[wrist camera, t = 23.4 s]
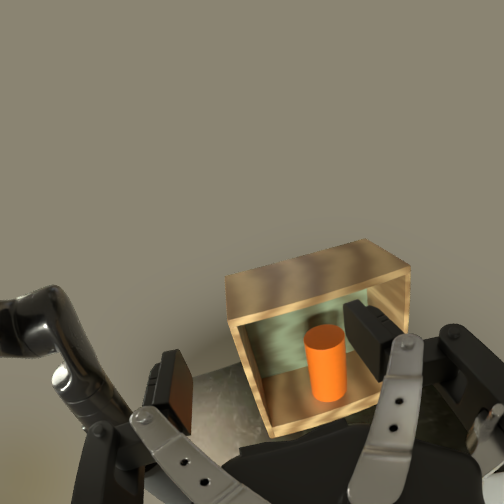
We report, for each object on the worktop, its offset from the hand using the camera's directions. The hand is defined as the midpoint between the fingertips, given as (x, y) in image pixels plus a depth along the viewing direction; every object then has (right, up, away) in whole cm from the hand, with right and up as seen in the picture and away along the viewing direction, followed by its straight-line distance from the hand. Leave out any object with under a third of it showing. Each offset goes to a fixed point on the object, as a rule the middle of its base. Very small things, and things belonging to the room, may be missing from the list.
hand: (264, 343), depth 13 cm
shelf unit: (+12, -19, +29) cm, 37 cm away
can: (+11, -17, +26) cm, 34 cm away
